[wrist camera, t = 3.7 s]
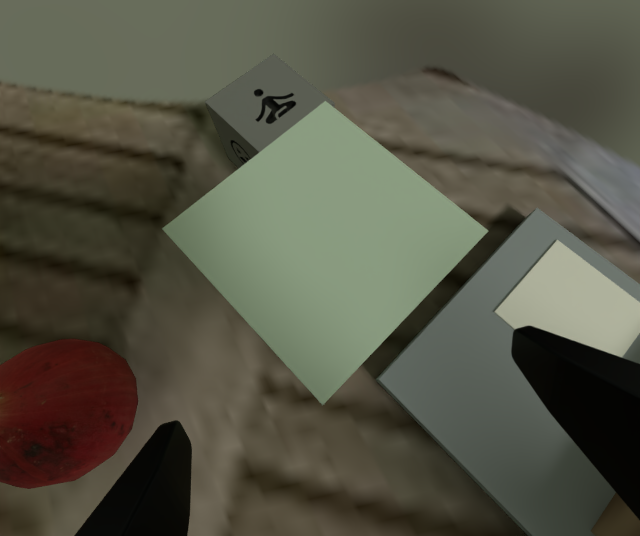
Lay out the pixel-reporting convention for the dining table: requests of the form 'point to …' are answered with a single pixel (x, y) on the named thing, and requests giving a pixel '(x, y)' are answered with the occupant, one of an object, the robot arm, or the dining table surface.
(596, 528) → the beam
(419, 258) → the post
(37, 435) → the onion
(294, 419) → the dining table surface
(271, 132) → the dice cube
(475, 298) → the board
